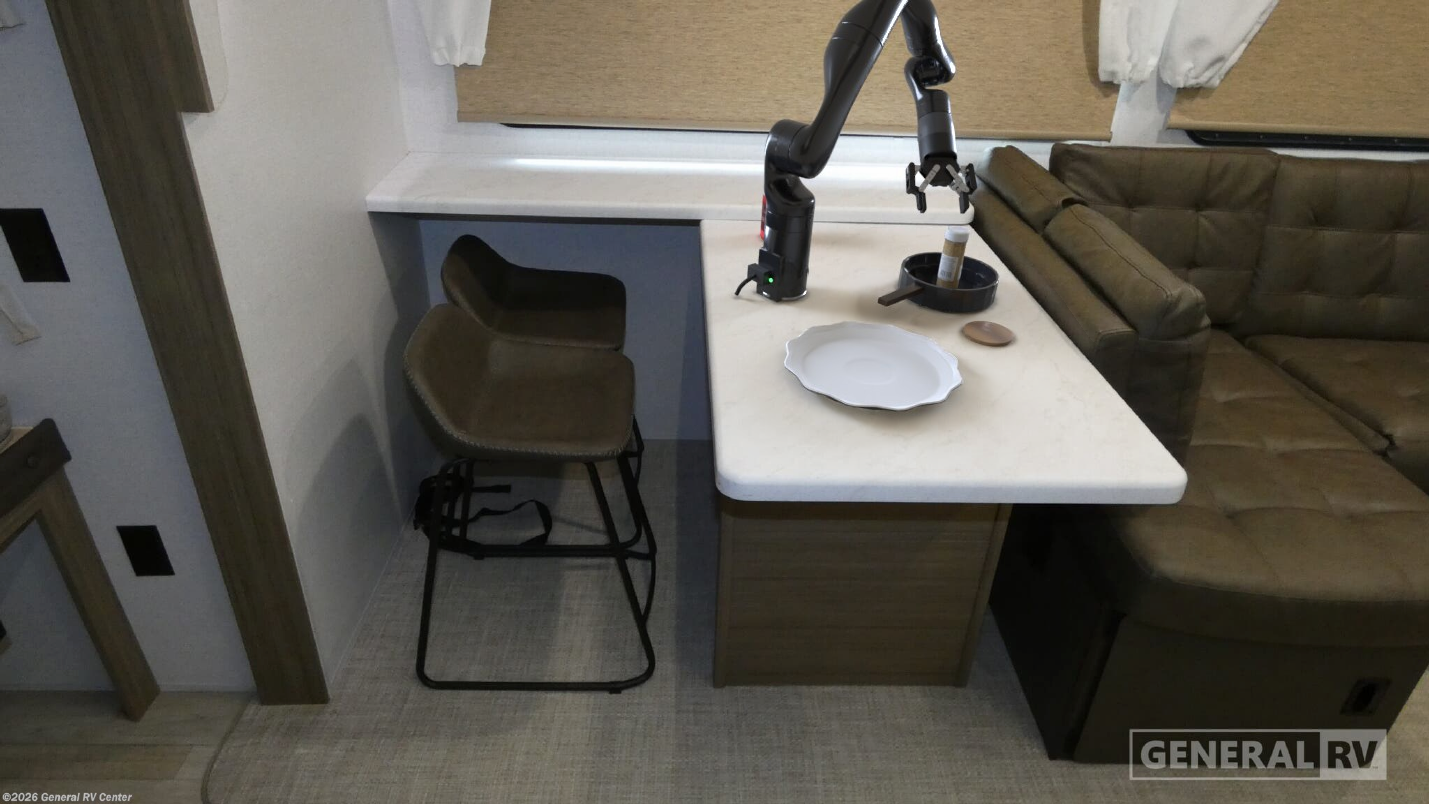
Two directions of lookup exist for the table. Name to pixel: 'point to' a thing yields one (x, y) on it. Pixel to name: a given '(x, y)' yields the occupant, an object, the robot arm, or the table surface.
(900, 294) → the pan handle
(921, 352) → the plate
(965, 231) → the sprinkles bottle
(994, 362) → the table surface
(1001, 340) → the coaster
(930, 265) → the pan
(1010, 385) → the table surface
